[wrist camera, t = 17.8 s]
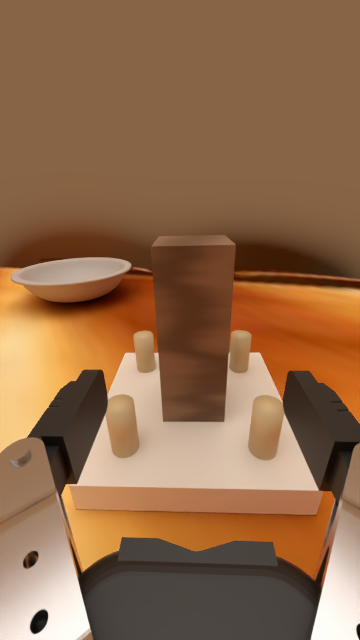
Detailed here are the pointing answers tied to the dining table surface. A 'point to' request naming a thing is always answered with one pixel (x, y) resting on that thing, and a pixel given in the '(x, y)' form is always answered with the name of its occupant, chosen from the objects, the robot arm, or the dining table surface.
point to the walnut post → (193, 324)
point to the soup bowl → (72, 278)
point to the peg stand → (196, 446)
